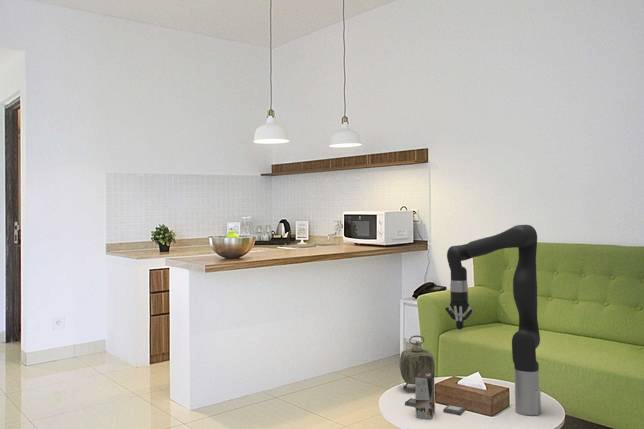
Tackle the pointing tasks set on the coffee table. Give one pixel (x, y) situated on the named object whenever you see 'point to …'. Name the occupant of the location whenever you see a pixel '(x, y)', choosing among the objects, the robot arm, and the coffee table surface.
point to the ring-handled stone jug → (415, 362)
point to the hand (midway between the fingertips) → (459, 329)
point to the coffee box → (425, 395)
